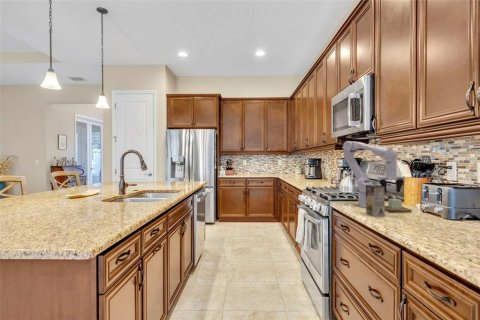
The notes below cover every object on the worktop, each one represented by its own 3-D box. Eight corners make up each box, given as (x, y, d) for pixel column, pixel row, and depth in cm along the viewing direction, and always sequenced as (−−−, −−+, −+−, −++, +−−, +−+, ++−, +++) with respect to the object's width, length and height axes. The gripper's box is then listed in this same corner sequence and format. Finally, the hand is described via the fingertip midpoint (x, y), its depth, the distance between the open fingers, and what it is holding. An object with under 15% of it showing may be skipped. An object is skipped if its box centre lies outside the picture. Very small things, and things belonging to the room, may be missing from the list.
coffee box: (365, 213, 148) (365, 184, 148) (376, 212, 148) (376, 184, 148) (373, 216, 139) (372, 186, 139) (385, 216, 139) (385, 186, 139)
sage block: (388, 207, 156) (388, 198, 156) (397, 207, 155) (396, 198, 155) (392, 208, 151) (392, 200, 151) (401, 208, 150) (401, 200, 150)
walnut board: (379, 208, 160) (379, 206, 160) (399, 208, 159) (399, 205, 159) (389, 212, 148) (389, 209, 148) (411, 212, 147) (411, 209, 147)
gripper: (381, 170, 152) (382, 193, 152) (407, 169, 151) (408, 192, 151) (375, 169, 159) (376, 192, 159) (400, 169, 158) (401, 191, 158)
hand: (391, 192), depth 155 cm, fingers open, 7 cm apart
